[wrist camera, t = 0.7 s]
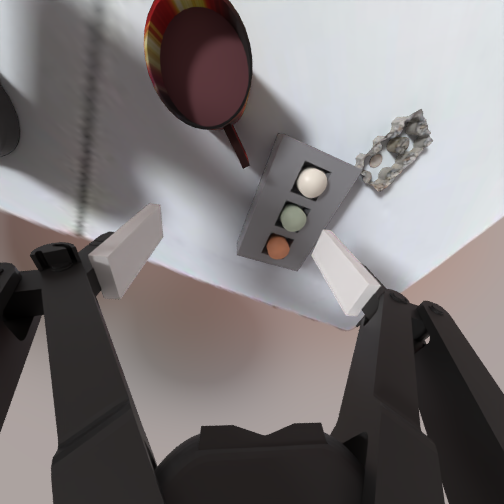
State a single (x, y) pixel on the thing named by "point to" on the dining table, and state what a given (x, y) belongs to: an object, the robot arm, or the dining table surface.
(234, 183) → the dining table surface
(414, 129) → the egg carton
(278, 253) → the rust button
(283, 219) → the sage button
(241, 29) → the mug
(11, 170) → the dining table surface
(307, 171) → the cream button
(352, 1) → the dining table surface
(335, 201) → the console
